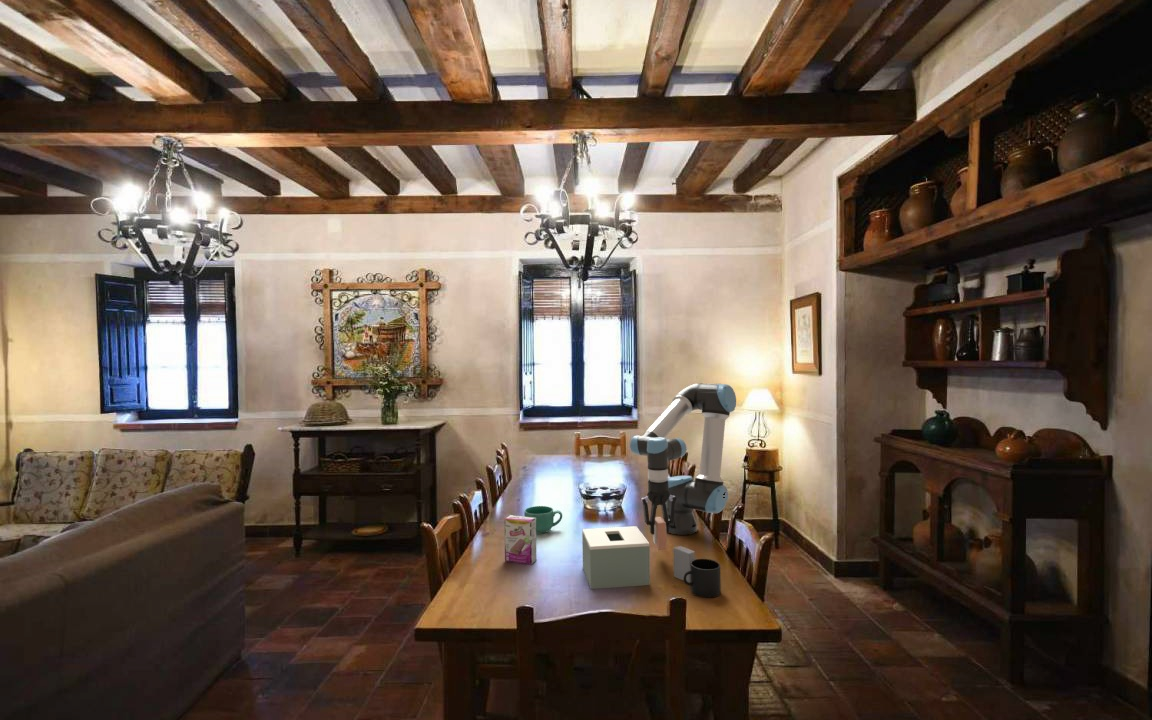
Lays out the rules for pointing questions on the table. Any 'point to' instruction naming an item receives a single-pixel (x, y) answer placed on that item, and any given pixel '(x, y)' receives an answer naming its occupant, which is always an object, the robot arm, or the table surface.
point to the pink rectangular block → (660, 533)
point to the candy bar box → (520, 539)
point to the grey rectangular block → (682, 562)
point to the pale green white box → (615, 557)
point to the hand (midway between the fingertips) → (659, 542)
